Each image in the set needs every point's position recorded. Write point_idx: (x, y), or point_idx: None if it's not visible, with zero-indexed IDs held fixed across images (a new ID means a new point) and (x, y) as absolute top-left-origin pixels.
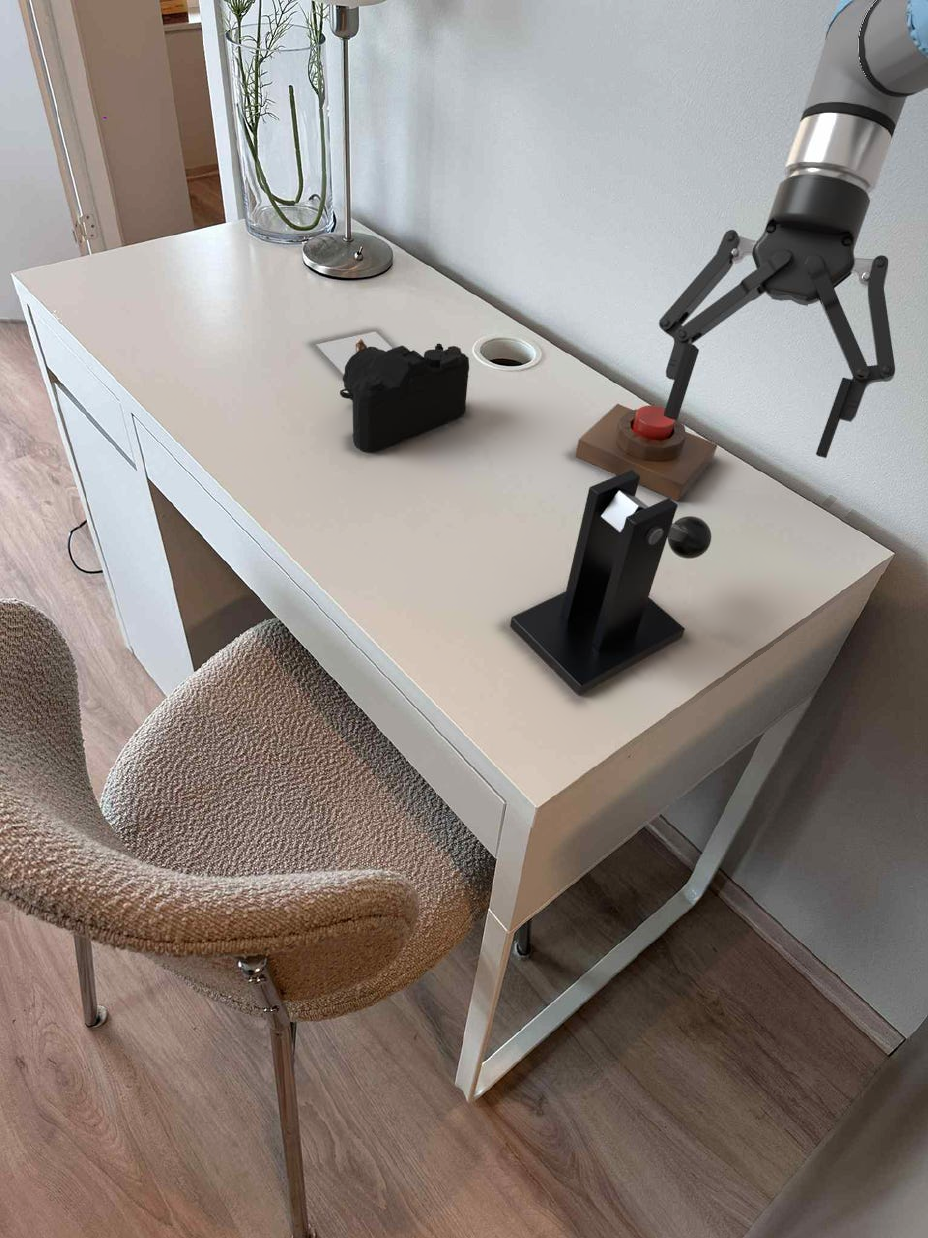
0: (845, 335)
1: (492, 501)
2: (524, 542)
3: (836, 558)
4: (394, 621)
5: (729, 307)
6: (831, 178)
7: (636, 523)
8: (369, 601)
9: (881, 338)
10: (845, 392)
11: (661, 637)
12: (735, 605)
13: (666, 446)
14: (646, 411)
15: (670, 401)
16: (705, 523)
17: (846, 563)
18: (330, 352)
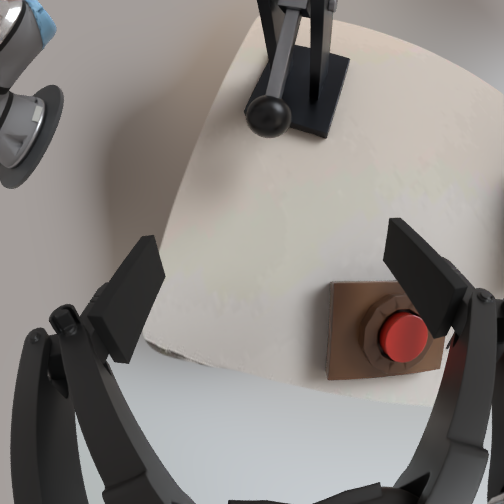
0: (89, 398)
1: (449, 168)
2: (402, 136)
3: (169, 298)
4: (396, 45)
5: (462, 382)
6: None
7: None
8: (416, 52)
9: (27, 387)
10: (101, 297)
11: (255, 93)
12: (222, 175)
13: (375, 310)
14: (418, 339)
15: (407, 227)
16: (257, 114)
17: (160, 296)
18: None
